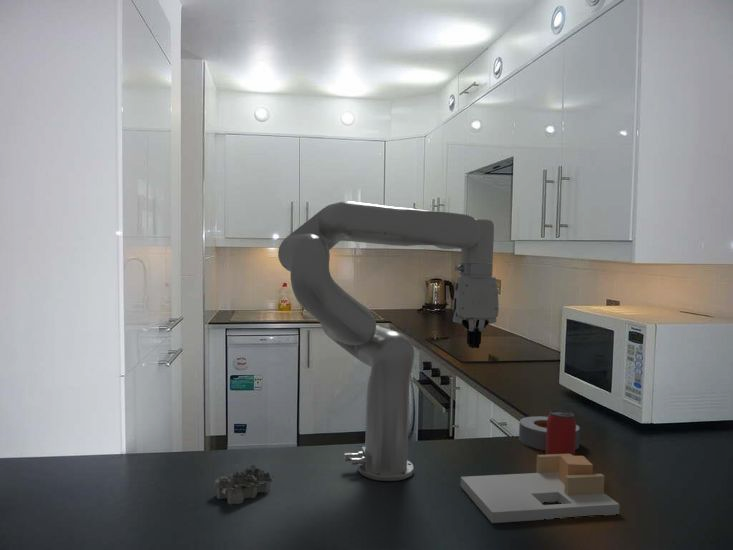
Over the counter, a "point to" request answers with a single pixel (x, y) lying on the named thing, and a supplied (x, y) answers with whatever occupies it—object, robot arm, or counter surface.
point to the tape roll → (538, 432)
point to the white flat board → (539, 494)
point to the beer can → (560, 433)
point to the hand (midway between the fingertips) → (473, 347)
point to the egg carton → (243, 484)
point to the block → (573, 466)
